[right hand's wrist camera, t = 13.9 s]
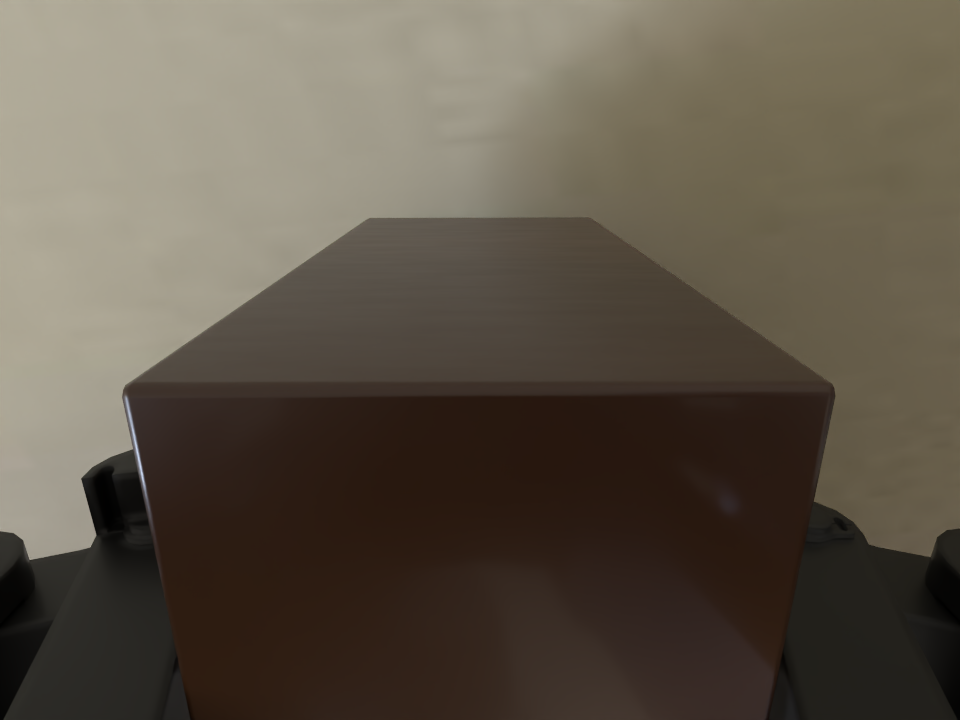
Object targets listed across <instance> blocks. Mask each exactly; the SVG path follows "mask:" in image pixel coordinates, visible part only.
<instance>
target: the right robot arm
mask: <svg viewBox="0 0 960 720" xmlns="http://www.w3.org/2000/svg"><path fill="white" fill-rule="evenodd" d="M81 480H82V483H83V487H84V491H85V494H86V498H87V502H88V505H89V509H90V513H91V516H92V520H93V524H94V527H95V531H96V535H97V536H96V538H95V540H94V542H93V544H92V546H91V547H90V548H87V549H83V550H79V551H74V552H69V553H64V554H59V555H54V556H49V557H44V558H38V559H33V560H29V557H28V554H27V551H26V548H25V545H24V542H23V540H22V539H21V538H19V537H18V536H17V535H15V534H14V533H8V532H0V720H190V715H189V710H188V706H187V701H186V696H185V691H184V687H183V682H182V677H181V672H180V668H179V663H178V658H177V654H176V649H175V644H174V639H173V635H172V630H171V625H170V620H169V616H168V611H167V606H166V601H165V597H164V592H163V587H162V583H161V578H160V573H159V568H158V564H157V559H156V554H155V549H154V545H153V540H152V535H151V530H150V526H149V521H148V516H147V512H146V507H145V502H144V497H143V493H142V488H141V483H140V478H139V474H138V469H137V464H136V459H135V455H134V450H130V451H127V452H124V453H121V454H118V455H116V456H113V457H110V458H108V459H107V460H105V461H103V462H101V463H99V464H98V465H96V466H94V467H92V468H91V469H90V470H89V471H88V472H87V473H86V474H85V475H84V476H83V477H82V478H81ZM769 720H960V529H953V530H947V531H945V532H944V533H943V534H941V535H940V536H939V537H937V540H936V543H935V546H934V549H933V553H932V556H931V557H926V556H921V555H916V554H910V553H905V552H900V551H895V550H890V549H884V548H880V547H876V546H872V545H869V544H868V542H867V540H866V538H865V536H864V535H863V533H862V532H861V531H860V530H859V528H858V527H857V526H856V525H855V524H854V522H852V521H851V520H849V519H848V518H846V517H845V516H843V515H842V514H840V513H839V512H837V511H835V510H833V509H831V508H828V507H826V506H823V505H821V504H819V503H816V502H813V506H812V511H811V516H810V521H809V526H808V531H807V536H806V541H805V545H804V550H803V555H802V560H801V565H800V570H799V575H798V580H797V584H796V589H795V594H794V599H793V604H792V609H791V614H790V618H789V623H788V628H787V633H786V638H785V643H784V648H783V653H782V657H781V662H780V667H779V672H778V677H777V682H776V687H775V691H774V696H773V701H772V706H771V711H770V716H769Z"/></svg>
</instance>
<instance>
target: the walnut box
mask: <svg viewBox="0 0 960 720" xmlns="http://www.w3.org/2000/svg"><path fill="white" fill-rule="evenodd" d="M122 398H123V403H124V407H125V412H126V417H127V422H128V426H129V431H130V436H131V441H132V445H133V450H134V455H135V459H136V464H137V469H138V474H139V478H140V483H141V488H142V493H143V497H144V502H145V507H146V512H147V516H148V521H149V526H150V530H151V535H152V540H153V545H154V549H155V554H156V559H157V564H158V568H159V573H160V578H161V583H162V587H163V592H164V597H165V601H166V606H167V611H168V616H169V620H170V625H171V630H172V635H173V639H174V644H175V649H176V654H177V658H178V663H179V668H180V672H181V677H182V682H183V687H184V691H185V696H186V701H187V706H188V710H189V715H190V720H769V716H770V711H771V706H772V701H773V696H774V691H775V687H776V682H777V677H778V672H779V667H780V662H781V657H782V653H783V648H784V643H785V638H786V633H787V628H788V623H789V618H790V614H791V609H792V604H793V599H794V594H795V589H796V584H797V580H798V575H799V570H800V565H801V560H802V555H803V550H804V545H805V541H806V536H807V531H808V526H809V521H810V516H811V511H812V506H813V502H814V497H815V492H816V487H817V482H818V477H819V472H820V468H821V463H822V458H823V453H824V448H825V443H826V438H827V433H828V429H829V424H830V419H831V414H832V409H833V404H834V399H835V391H834V387H833V385H832V384H831V383H830V382H828V381H827V380H826V379H824V378H823V377H821V376H820V375H818V374H817V373H815V372H814V371H812V370H811V369H810V368H808V367H807V366H805V365H804V364H802V363H801V362H799V361H798V360H796V359H795V358H794V357H792V356H791V355H789V354H788V353H786V352H785V351H783V350H782V349H780V348H779V347H778V346H776V345H775V344H773V343H772V342H770V341H769V340H767V339H766V338H764V337H763V336H762V335H760V334H759V333H757V332H756V331H754V330H753V329H751V328H750V327H748V326H747V325H746V324H744V323H743V322H741V321H740V320H738V319H737V318H735V317H734V316H732V315H731V314H730V313H728V312H727V311H725V310H724V309H722V308H721V307H719V306H718V305H716V304H715V303H714V302H712V301H711V300H709V299H708V298H706V297H705V296H703V295H702V294H700V293H699V292H698V291H696V290H695V289H693V288H692V287H690V286H689V285H687V284H686V283H684V282H683V281H682V280H680V279H679V278H677V277H676V276H674V275H673V274H671V273H670V272H668V271H667V270H666V269H664V268H663V267H661V266H660V265H658V264H657V263H655V262H654V261H652V260H651V259H650V258H648V257H647V256H645V255H644V254H642V253H641V252H639V251H638V250H636V249H635V248H634V247H632V246H631V245H629V244H628V243H626V242H625V241H623V240H622V239H620V238H619V237H618V236H616V235H615V234H613V233H612V232H610V231H609V230H607V229H606V228H604V227H603V226H602V225H600V224H599V223H597V222H596V221H594V220H593V219H591V218H369V219H367V220H365V221H364V222H363V223H361V224H360V225H358V226H357V227H355V228H354V229H352V230H351V231H349V232H348V233H347V234H345V235H344V236H342V237H341V238H339V239H338V240H336V241H335V242H333V243H332V244H330V245H329V246H328V247H326V248H325V249H323V250H322V251H320V252H319V253H317V254H316V255H314V256H313V257H312V258H310V259H309V260H307V261H306V262H304V263H303V264H301V265H300V266H298V267H297V268H296V269H294V270H293V271H291V272H290V273H288V274H287V275H285V276H284V277H282V278H281V279H280V280H278V281H277V282H275V283H274V284H272V285H271V286H269V287H268V288H266V289H265V290H264V291H262V292H261V293H259V294H258V295H256V296H255V297H253V298H252V299H250V300H249V301H247V302H246V303H245V304H243V305H242V306H240V307H239V308H237V309H236V310H234V311H233V312H231V313H230V314H229V315H227V316H226V317H224V318H223V319H221V320H220V321H218V322H217V323H215V324H214V325H213V326H211V327H210V328H208V329H207V330H205V331H204V332H202V333H201V334H199V335H198V336H197V337H195V338H194V339H192V340H191V341H189V342H188V343H186V344H185V345H183V346H182V347H181V348H179V349H178V350H176V351H175V352H173V353H172V354H170V355H169V356H167V357H166V358H164V359H163V360H162V361H160V362H159V363H157V364H156V365H154V366H153V367H151V368H150V369H148V370H147V371H146V372H144V373H143V374H141V375H140V376H138V377H137V378H135V379H134V380H132V381H131V382H130V383H128V384H127V385H125V387H124V390H123V396H122Z"/></svg>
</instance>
